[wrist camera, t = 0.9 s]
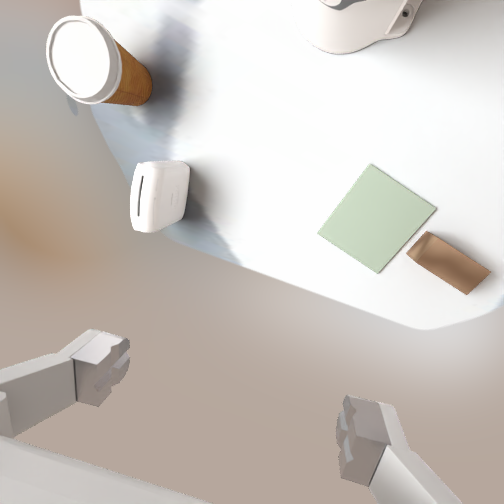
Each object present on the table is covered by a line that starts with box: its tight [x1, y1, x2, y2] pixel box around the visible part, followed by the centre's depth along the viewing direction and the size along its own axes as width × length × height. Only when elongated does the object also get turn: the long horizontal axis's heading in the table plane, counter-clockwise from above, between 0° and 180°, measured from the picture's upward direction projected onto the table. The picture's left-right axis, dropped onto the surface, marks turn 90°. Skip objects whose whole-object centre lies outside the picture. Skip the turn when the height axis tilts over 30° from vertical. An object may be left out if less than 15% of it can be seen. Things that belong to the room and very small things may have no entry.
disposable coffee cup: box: [46, 16, 152, 106], centre depth 40 cm, size 10×10×12 cm
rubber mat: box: [317, 164, 436, 274], centre depth 45 cm, size 13×12×1 cm
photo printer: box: [130, 161, 190, 232], centre depth 44 cm, size 10×4×12 cm, turn 167°
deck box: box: [406, 231, 491, 295], centre depth 43 cm, size 4×9×4 cm, turn 59°
